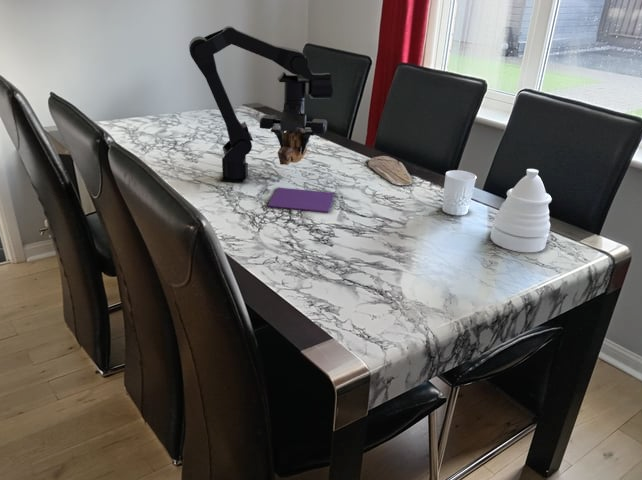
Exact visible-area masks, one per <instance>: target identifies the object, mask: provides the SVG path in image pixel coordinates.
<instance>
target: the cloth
mask: <svg viewBox="0 0 642 480" xmlns="http://www.w3.org/2000/svg"><path fill="white" fill-rule="evenodd" d="M334 196H335V192H328V191H318V190H317V191H316V190H306V189H295V188H286V187H285V188H284V187H278V188H277V189H276V190H275V192H274V194H273V196H272V197H271V199H270V200H269V202H268V204H267V208H275V209H287V210H296V211H305V212H306V211H308V212H316V213H317V212H318V213H327V214H328V213H329V211H330V208H331V205H332V203H333V200H334Z"/></svg>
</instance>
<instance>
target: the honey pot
mask: <svg viewBox="0 0 642 480" xmlns="http://www.w3.org/2000/svg"><path fill="white" fill-rule="evenodd" d="M525 173H526V175H524V176H523V177H522V178H521V179H520V180H519V181H518V182H517V183H516V184H515V185H514V187H512V188H510V189H508V190H507V191H506V196H507V197H506V199H505V200H504V201H502V203H501V206H500V207H499V209H498V212H497V213H496V214H495V216H494V218H493V219H494V220H493V223H492V227H491V232H490V240H491V242H493V243H494V244H495V245H497V246H499V247H501V248H503V249H506V250H509V251H512V252H513V251H514V252H519V253H539V252H541V251H543V250H544V249H545V248H546V245H547V242H548V237H549V233H550V229H551V222H550V219H551V217H550V209H549V204H551V203H552V200H553V198H552V197H551V195H550V194H549V193H547V191H546V188H545V186H544V183H543V180H542V179H541V177H540V176H539V169H536V168H527V169H526V172H525Z"/></svg>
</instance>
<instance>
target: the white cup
mask: <svg viewBox="0 0 642 480" xmlns="http://www.w3.org/2000/svg"><path fill="white" fill-rule="evenodd" d="M476 180H477V175H476V174H475V173H473V172H470V171H466V170H461V169H459V170H458V169H455V170H454V169H453V170H448V171H446V172H445V176H444V185H443V193H442V194H443V195H442V208H441V209H442V212H443V213H445V214H448V215H451V216H464V215H467V214H468V212H469V209H470V204H471V201H472V197H473V195H474V189H475V185H476Z"/></svg>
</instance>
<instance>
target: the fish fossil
mask: <svg viewBox="0 0 642 480" xmlns="http://www.w3.org/2000/svg"><path fill="white" fill-rule="evenodd" d="M367 162H368V163H367V165H368V167H369V168H370V169H372V170H373V171H374V172H376V173H377V174H378V175H379V176H380V177H382V178H383V179H385V180H386V181H387V182H389V183H390V184H392V185H396V186H409V185H412V183H413V179H412V176H411V175H410V173H409V171H408V170H407V168H406V166H405V165H404V164H403V163H402V161H398V160H397V159H395V158H393V157H390V156H387V155H380V156H375V157H371V159H369V161H367Z"/></svg>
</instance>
